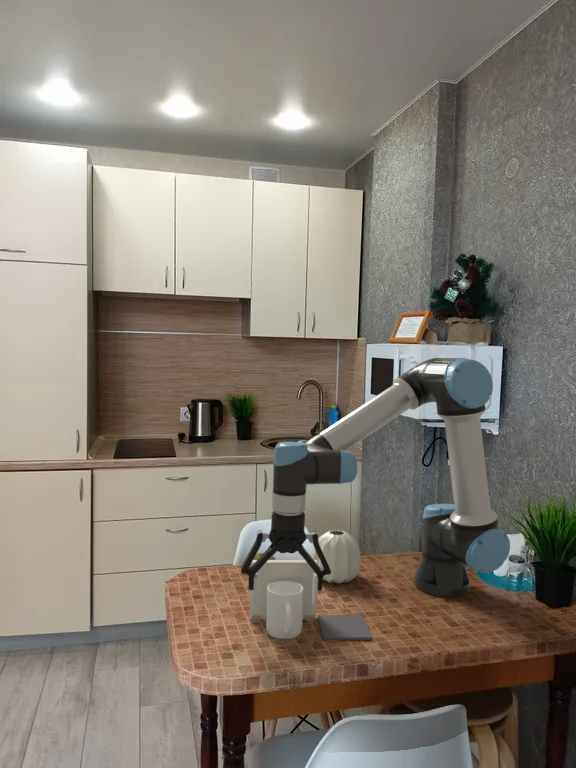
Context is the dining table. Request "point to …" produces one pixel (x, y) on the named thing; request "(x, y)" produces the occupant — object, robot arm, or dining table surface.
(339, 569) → the vase
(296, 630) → the mug
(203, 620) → the dining table surface
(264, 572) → the screen
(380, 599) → the dining table surface
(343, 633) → the pad
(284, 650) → the dining table surface
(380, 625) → the dining table surface
